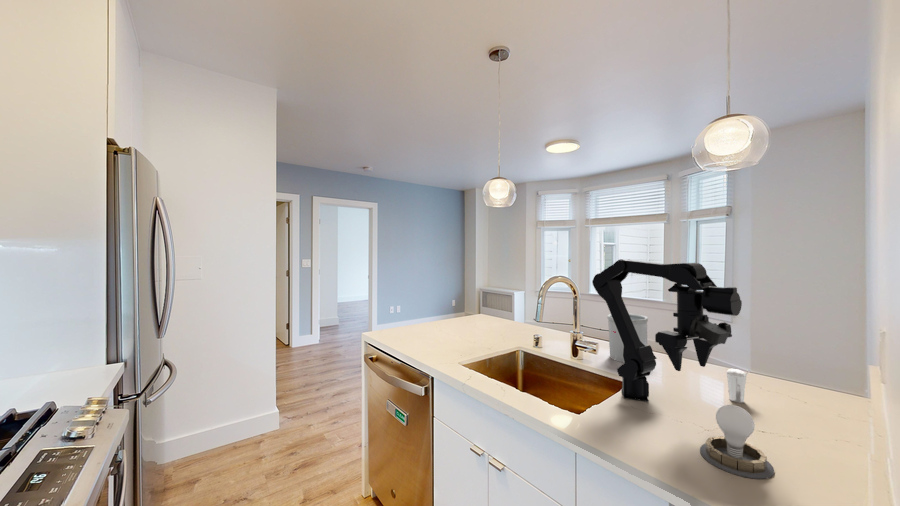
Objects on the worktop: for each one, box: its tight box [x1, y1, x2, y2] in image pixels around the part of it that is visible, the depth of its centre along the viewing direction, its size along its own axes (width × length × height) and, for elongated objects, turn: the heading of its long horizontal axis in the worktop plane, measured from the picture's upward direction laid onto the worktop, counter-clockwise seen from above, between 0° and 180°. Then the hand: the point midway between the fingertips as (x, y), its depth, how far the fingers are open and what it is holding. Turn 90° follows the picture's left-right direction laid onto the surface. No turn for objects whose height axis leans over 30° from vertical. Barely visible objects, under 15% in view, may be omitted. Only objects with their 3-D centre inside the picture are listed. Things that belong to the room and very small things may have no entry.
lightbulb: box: [715, 404, 756, 459], centre depth 73 cm, size 6×6×11 cm
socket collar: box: [705, 436, 768, 473], centre depth 73 cm, size 10×10×2 cm
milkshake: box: [726, 368, 750, 404], centre depth 101 cm, size 4×5×10 cm
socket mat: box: [699, 443, 775, 480], centre depth 73 cm, size 12×12×1 cm
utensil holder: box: [607, 313, 649, 364], centre depth 141 cm, size 15×15×18 cm
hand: (690, 368), depth 91 cm, fingers open, 9 cm apart
